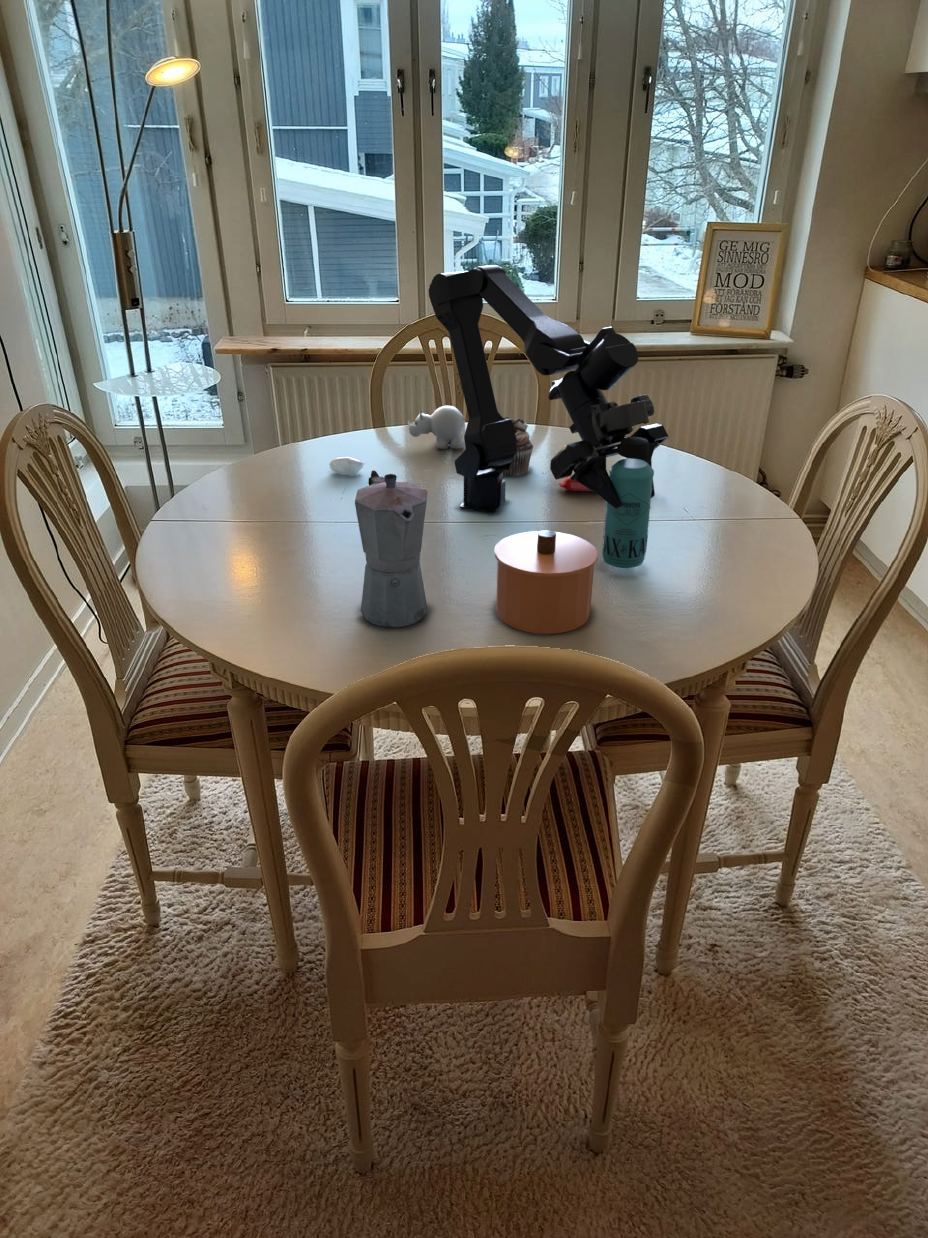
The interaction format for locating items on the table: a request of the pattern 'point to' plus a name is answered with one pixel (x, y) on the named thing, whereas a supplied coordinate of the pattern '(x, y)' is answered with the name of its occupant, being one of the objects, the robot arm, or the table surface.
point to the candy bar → (573, 485)
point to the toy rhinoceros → (440, 426)
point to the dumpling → (346, 465)
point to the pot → (543, 600)
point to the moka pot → (392, 550)
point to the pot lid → (546, 553)
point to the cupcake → (520, 449)
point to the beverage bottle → (629, 506)
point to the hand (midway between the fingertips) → (635, 502)
